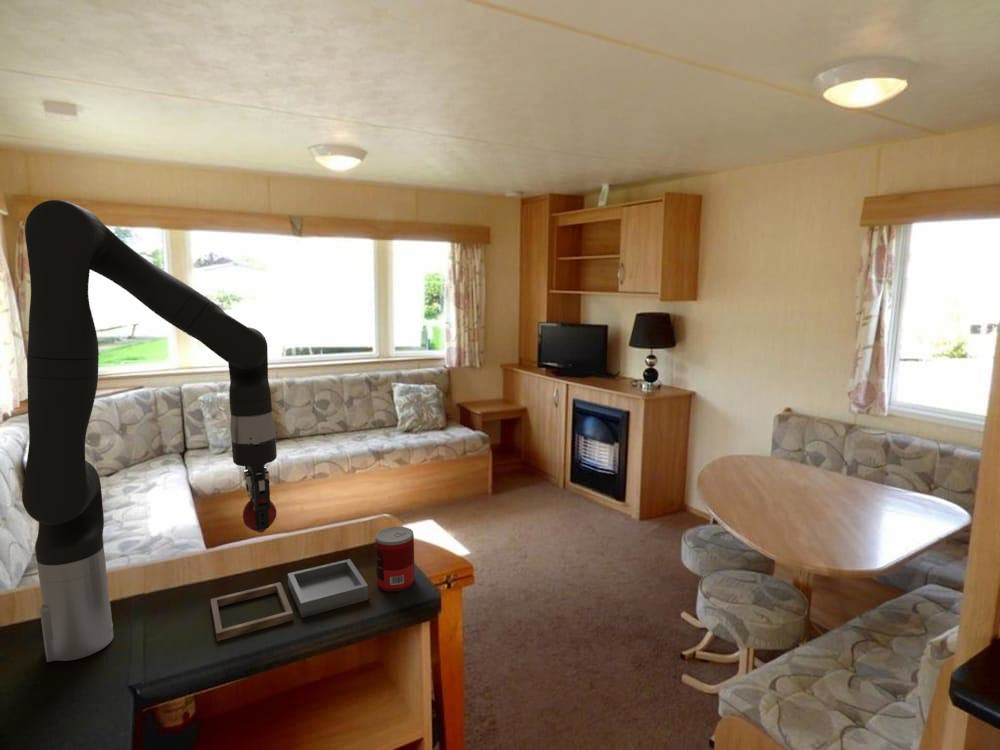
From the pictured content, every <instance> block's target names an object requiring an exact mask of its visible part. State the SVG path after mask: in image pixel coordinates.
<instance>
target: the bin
mask: <svg viewBox="0 0 1000 750" xmlns="http://www.w3.org/2000/svg"><path fill="white" fill-rule="evenodd" d="M287 581H288V582H287V584H288V589H289V592H290V594H291V596H292V598H293V601H294V604H295V605H296V608H297V610H298V613H299V615H300V617H301V618H306V617H311V616H314V615H317V614H322V613H324V612H328V611H333V610H335V609H340V608H343V607H346V606H350V605H353V604H357V603H361V602H364V601H369V600H368V599H370V598H369V585H368V583H367V582H366V580H365V578H363V576H362V574H361V572H360V571H359V569H357V567H356V566H355V564H354V563H353V562H352V560H351V558H348V559H344V560H339V561H336V562H331V563H327V564H324V565H318V566H315V567H314V566H313V567H310V568H306V569H301V570H296V571H293V572H289V573H287Z"/></svg>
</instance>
